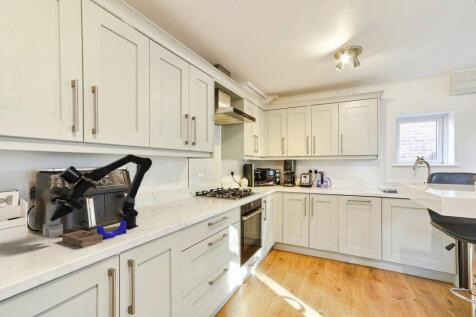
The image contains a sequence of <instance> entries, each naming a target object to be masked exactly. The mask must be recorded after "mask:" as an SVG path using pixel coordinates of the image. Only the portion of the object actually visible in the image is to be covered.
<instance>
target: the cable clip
mask: <svg viewBox="0 0 476 317" xmlns="http://www.w3.org/2000/svg"><path fill="white" fill-rule="evenodd" d="M96 234H100V235H103V241H105V240H109V239H113V238H116V237H117V236H121V235H126V234H127V229H126V221H122V220H121V221H120V222H119V226H118V227H117V228H116V229H115V230H114V231H112V232H106V231H105V229H104V226H103V225H97V226H96Z"/></svg>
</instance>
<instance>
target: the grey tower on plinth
mask: <svg viewBox="0 0 476 317" xmlns="http://www.w3.org/2000/svg"><path fill="white" fill-rule="evenodd" d="M45 206H46V207H45V223H44V224H42V236H44V237H47V236H48V238H52V239H53V238H55V237H60V236H63V235H64V232H63V231H64V225H63V223H61V218H59V219H57V220H55V221H51V218H52V217H53V216H54V214H55V213H56V212H57V211H58V209H59V208H60V204H57V203H55V204H52V203H49V204H46V205H45Z"/></svg>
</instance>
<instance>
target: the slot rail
mask: <svg viewBox="0 0 476 317" xmlns="http://www.w3.org/2000/svg"><path fill="white" fill-rule="evenodd" d="M61 241H62V243H65V244H69V245H72V246H75V247H78V248H80V249H81V248H82V249H85V248H88V247H91V246H95V245H98V244H101V243H103V242H104V240H103V235H100V234H97V232H91V231H87V230H84V229H82V230H81V229H80V230H77V231H72V232H69V233H63V235H62V240H61Z"/></svg>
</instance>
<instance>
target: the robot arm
mask: <svg viewBox="0 0 476 317" xmlns="http://www.w3.org/2000/svg"><path fill="white" fill-rule="evenodd" d="M129 163H132V164H135V165H136V170H135V174H134V175H133V176H134V177H133V179H132V181H131V184H130V186H129V188H128V191H127V192H126V195H125V196H124V197H123V198H122V197H120V199H119V202H118V204H117V210H118V212H119V213H121V215H122V220H121V221H126V230H131V229H134V228H137V227H139V224H137V217H138V215H139V211H138V210H136V209H135V205H136V196H137V194H138V191H139V189H140V187H141V184H142V183H143V180H144V177H145V174H146V173H147V172H148V171H149V170H150V169H151V168H152V165H153V161H152V159H151V158H150V157H142V156H138V155H135V154H131V153H130V154H129V153H128V154H125V156H122V157H121V158H119V159H116V160H114V161H113V162H110V163H108V164H106V165H104V166H100V167H95V168H92V169H89V170H88V171H87V172H81V171H79V170H78V169H77V168H76V167H74V166H73V165H70V166H69V167H68V168H65V169H64V170H63V171H61V173H59V174H58V177H59V178H60V179H61V180H62V181H64V182H65V183H67V184H68V185H71V184H72V185H73V186H72V187H71V188H70V187H69V186H66V185H63V186H62V187H60V186H54V185H53V186H52V188H51V189H50V191H49V194H51V195H53V196H50V198H48V199H47V201H49V202H50V204H55V203H57V204H60V208H59V209H58V211H57V212H56V213H55V214H54V216H53V217H52V218H51V221H55V220H57V219H59V218H60V219H61V218H63V217H65V216H68V215H69V214H71V213H74V212H75V211H76V212H79V213H80V212H81V211H82V210H83V209H84V204H82V202H80V199H84V197H85V196H84V195H85V194H86V193H87V192H88V191H89V190H90V189H91V190H97V183H92V182H100V181H102V180H103V179H104V178H105V177H107V176H108V175H109V174H110V173H112V172H114V171H116V170H118V169H119V168H122V167H123V166H125V165H128V164H129ZM74 210H75V211H74Z"/></svg>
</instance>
